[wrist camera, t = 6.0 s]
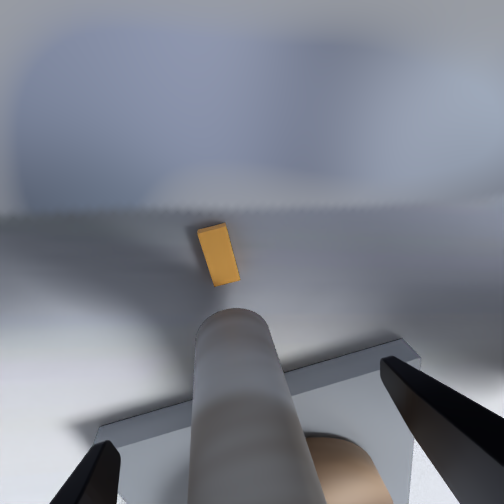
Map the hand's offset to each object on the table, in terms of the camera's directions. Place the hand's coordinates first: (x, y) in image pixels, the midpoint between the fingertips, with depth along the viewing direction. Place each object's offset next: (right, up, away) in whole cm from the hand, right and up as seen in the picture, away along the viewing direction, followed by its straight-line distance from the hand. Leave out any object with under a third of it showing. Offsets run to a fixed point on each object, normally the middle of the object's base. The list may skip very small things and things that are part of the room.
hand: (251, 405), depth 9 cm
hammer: (+1, -7, +7) cm, 10 cm away
